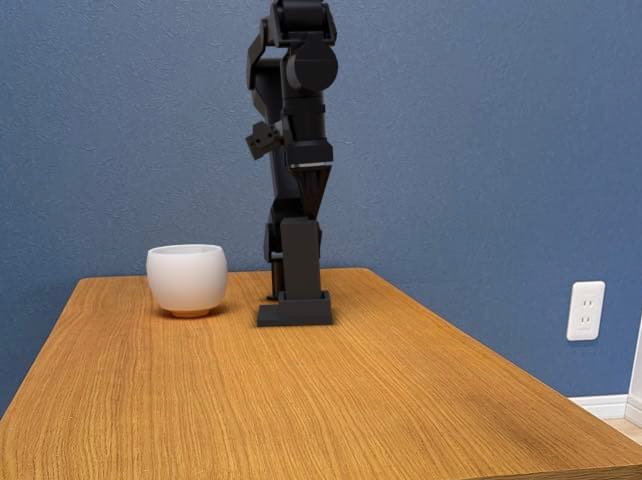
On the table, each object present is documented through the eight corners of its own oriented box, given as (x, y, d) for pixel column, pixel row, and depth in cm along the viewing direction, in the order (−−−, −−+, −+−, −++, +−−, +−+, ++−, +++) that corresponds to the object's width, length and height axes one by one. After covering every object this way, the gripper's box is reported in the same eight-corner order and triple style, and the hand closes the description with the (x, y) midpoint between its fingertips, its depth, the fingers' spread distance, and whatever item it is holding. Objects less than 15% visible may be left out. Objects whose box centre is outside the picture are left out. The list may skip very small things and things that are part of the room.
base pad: (259, 311, 134) (258, 288, 133) (329, 309, 134) (329, 286, 133) (257, 326, 124) (256, 302, 123) (332, 324, 125) (332, 300, 123)
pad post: (290, 308, 130) (283, 218, 123) (322, 306, 129) (316, 216, 123) (287, 316, 126) (280, 224, 119) (320, 314, 125) (314, 221, 119)
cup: (136, 320, 131) (128, 254, 126) (174, 304, 141) (168, 242, 137) (208, 324, 127) (203, 256, 122) (242, 307, 137) (239, 244, 133)
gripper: (246, 107, 127) (256, 219, 133) (243, 97, 109) (255, 226, 116) (320, 102, 127) (327, 214, 133) (330, 91, 110) (337, 220, 116)
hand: (310, 218), depth 124 cm, fingers open, 8 cm apart
